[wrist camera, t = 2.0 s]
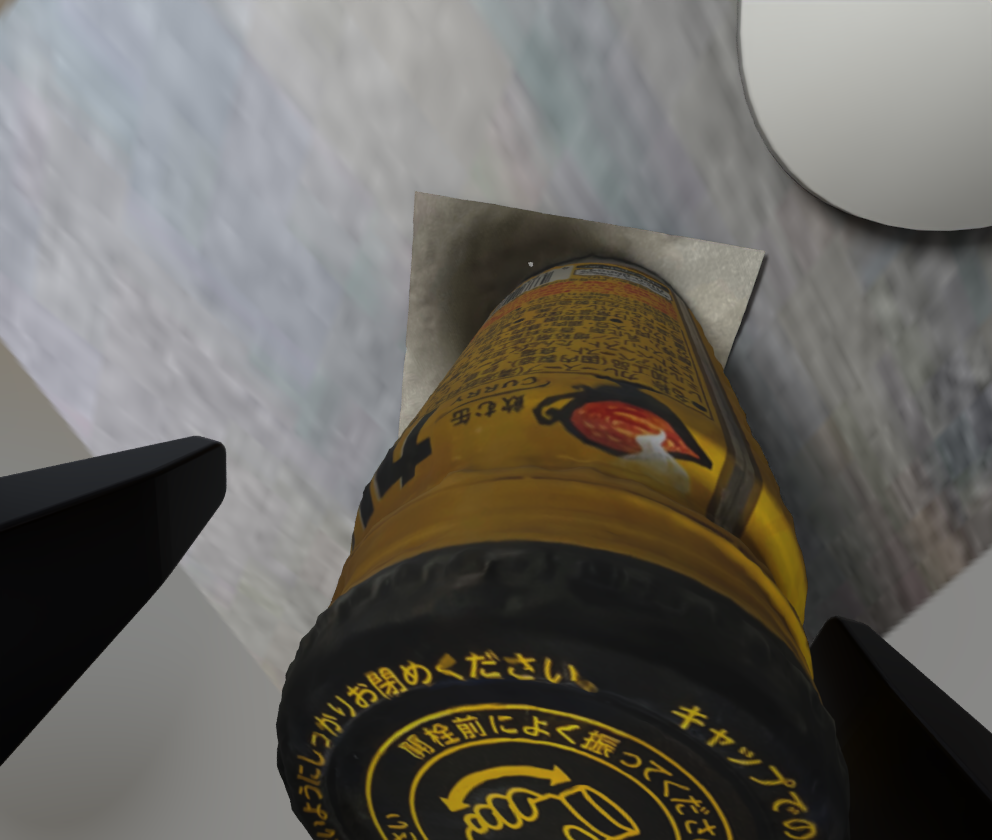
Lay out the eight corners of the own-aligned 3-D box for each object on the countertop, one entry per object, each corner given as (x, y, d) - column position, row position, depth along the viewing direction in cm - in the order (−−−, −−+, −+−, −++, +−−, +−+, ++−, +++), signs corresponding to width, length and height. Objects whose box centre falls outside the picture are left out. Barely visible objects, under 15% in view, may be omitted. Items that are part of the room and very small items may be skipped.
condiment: (677, 503, 17) (787, 1115, 6) (399, 442, 18) (74, 885, 7) (763, 249, 14) (1307, 608, 3) (419, 189, 15) (-127, 301, 4)
